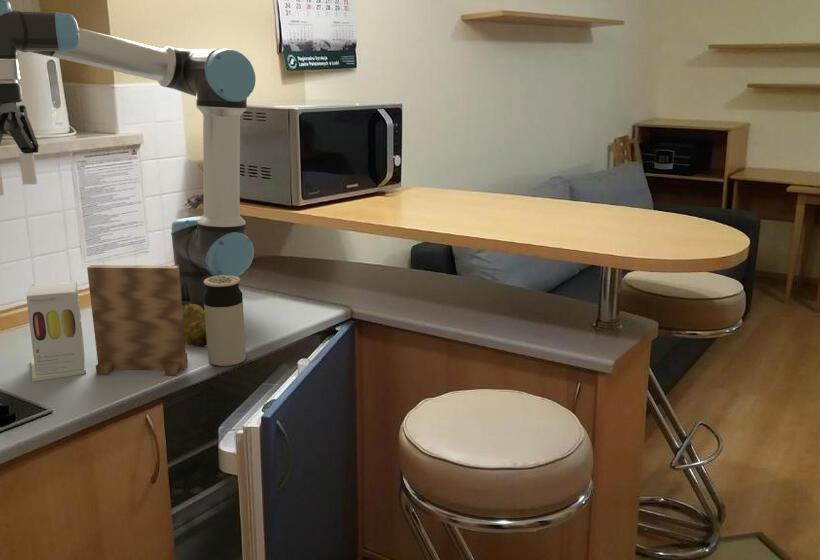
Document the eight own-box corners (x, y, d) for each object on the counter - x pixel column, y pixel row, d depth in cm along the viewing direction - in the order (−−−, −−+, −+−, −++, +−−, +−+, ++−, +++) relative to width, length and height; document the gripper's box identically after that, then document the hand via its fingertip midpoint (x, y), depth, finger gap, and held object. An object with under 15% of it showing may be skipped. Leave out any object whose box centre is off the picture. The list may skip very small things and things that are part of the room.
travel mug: (215, 369, 164) (209, 287, 160) (203, 358, 171) (197, 278, 166) (251, 362, 168) (247, 281, 164) (238, 351, 175) (233, 272, 170)
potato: (176, 352, 174) (173, 318, 172) (176, 333, 186) (173, 301, 184) (215, 349, 176) (212, 315, 174) (212, 330, 188) (210, 298, 186)
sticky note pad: (82, 354, 173) (81, 350, 173) (86, 373, 162) (85, 369, 162) (31, 361, 169) (31, 358, 168) (32, 381, 158) (32, 377, 158)
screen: (191, 361, 169) (183, 262, 163) (179, 376, 161) (171, 272, 155) (108, 360, 169) (97, 261, 163) (92, 375, 162) (80, 271, 156)
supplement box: (34, 376, 159) (23, 296, 154) (37, 360, 167) (27, 283, 163) (85, 369, 162) (76, 291, 158) (86, 354, 171) (77, 279, 166)
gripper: (12, 80, 167) (25, 180, 173) (-58, 84, 143) (-40, 199, 149) (47, 80, 167) (59, 180, 173) (-17, 84, 143) (-1, 200, 149)
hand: (13, 189), depth 161 cm, fingers open, 13 cm apart
